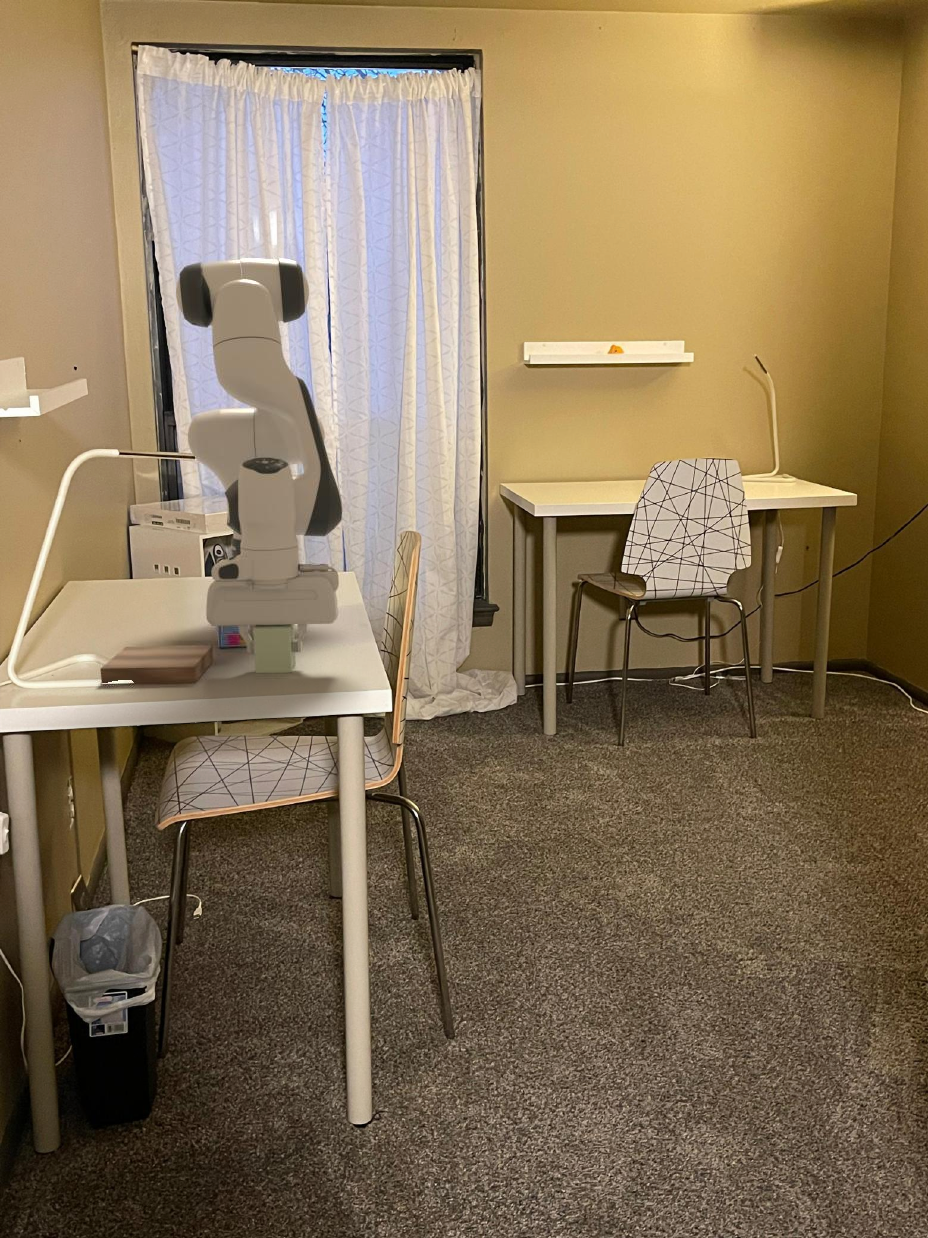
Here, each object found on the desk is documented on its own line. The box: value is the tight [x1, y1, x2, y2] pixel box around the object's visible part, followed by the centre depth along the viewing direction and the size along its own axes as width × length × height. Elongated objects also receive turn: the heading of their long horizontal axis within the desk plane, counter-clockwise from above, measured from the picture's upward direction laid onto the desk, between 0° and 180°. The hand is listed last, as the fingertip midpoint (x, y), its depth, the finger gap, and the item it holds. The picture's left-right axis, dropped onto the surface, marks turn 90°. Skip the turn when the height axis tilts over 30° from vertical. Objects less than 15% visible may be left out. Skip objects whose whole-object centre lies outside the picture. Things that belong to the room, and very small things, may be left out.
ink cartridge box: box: [216, 626, 250, 649], centre depth 199 cm, size 10×6×14 cm, turn 13°
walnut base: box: [99, 644, 214, 685], centre depth 181 cm, size 14×14×2 cm
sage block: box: [252, 624, 297, 674], centre depth 182 cm, size 6×6×7 cm
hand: (275, 652), depth 182 cm, fingers closed on sage block, 5 cm apart
